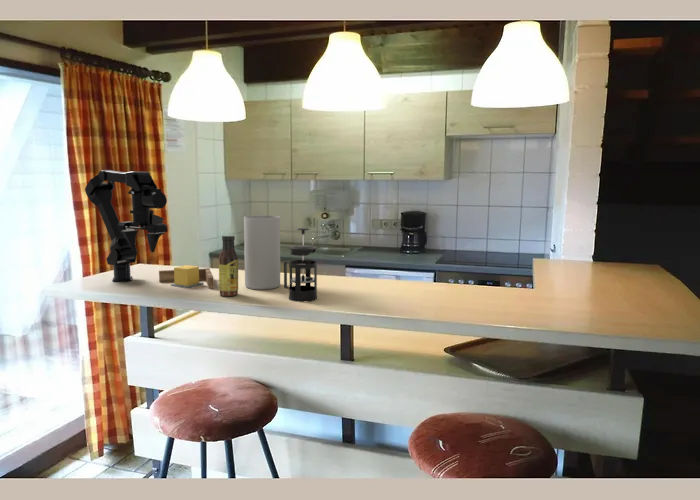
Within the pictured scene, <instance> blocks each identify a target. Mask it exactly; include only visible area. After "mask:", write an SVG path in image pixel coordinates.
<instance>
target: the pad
mask: <svg viewBox="0 0 700 500" xmlns="http://www.w3.org/2000/svg"><path fill="white" fill-rule="evenodd" d="M200 285H201V286H202V285H204V282H200V281H199V283H197V284H193V285H189V286H184V285H176V284H175V283H171V284H170V286H172V287H178V288H187V289H190V288H194V287H196V286H200Z"/></svg>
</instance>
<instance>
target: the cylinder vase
mask: <svg viewBox="0 0 700 500" xmlns="http://www.w3.org/2000/svg"><path fill="white" fill-rule="evenodd" d="M243 234H244V235H243V236H244V237H243V238H244V240H243V242H244V247H243V248H244V286H245V287H246V288H247V289H250V290H260V291H261V290H265V291H266V290H273V289H276V288H278V287H280V285H281V217H280V216H279V215H264V214H263V215H260V214H259V215H246V216H243Z"/></svg>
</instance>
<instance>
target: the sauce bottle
mask: <svg viewBox="0 0 700 500" xmlns="http://www.w3.org/2000/svg"><path fill="white" fill-rule="evenodd" d="M235 239H236V237H235V235H233V234H223V235H222V236H221V240H222V250H221V252H220V254H219V256H218V290H219V295H220V296H221V297H233V296H237V295H238V293H239V259H238V254H237V252H236V250H235Z"/></svg>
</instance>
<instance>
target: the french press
mask: <svg viewBox="0 0 700 500" xmlns="http://www.w3.org/2000/svg"><path fill="white" fill-rule="evenodd" d="M296 230H297V231H301V235H302V244H299V245H290V246H288V248H289V249H290V255H291V256H292V255H293V256H299V257H302V259H294V260H290V261H288V260H286V261H284V263H283V288H284V289H285V290H287V289H288V290H289V292H288V293H289V294H288V299H289V301H292V302H298V301H299V303H300V302H301V303H305V302H304V301H308V302H312V300H314V301H316V300H317V299H318V298H317V297H318V288H317V287H318V286H317V285H318V283H317V282H318V273H317V272H318V269H317V268H318V262H317V261H316V260H312V259H304V258H305V257H306V256H309V255H310V254H311V253H312V254H313V253H316V250H317V249H318V247H317V246H315V245H309V244H308V245H307V244H304V243H305V242H304V241H305V238H304V237H305V234H306V231H309V230H311V229H310V228H307V227H301V228H300V227H299V228H296ZM288 267H289V286H288ZM293 269H295V270H294V271H295V273H294V274H295V275H294V277H293ZM301 269H302V271H301ZM304 269H305V271H304ZM311 269H313V270H314V274H313V275H314V276H311ZM301 272H302V273H301ZM304 272H305V274H304ZM301 274H302V275H301ZM293 283H294V284H295V285H293ZM311 283H313V284H314V285H311ZM302 284H304V285H302ZM315 299H316V300H315Z"/></svg>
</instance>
